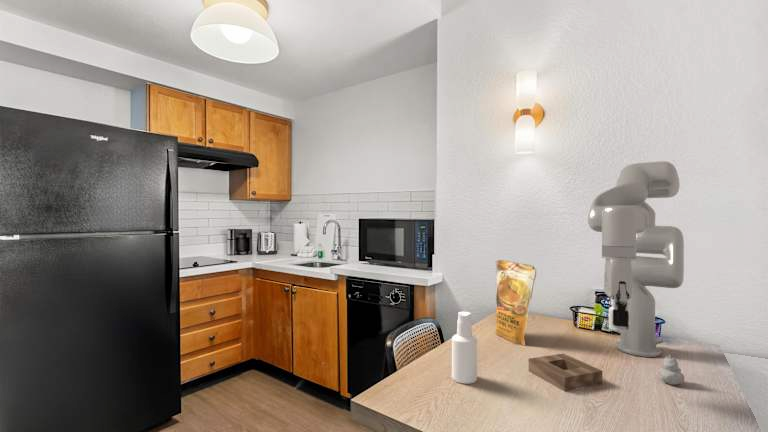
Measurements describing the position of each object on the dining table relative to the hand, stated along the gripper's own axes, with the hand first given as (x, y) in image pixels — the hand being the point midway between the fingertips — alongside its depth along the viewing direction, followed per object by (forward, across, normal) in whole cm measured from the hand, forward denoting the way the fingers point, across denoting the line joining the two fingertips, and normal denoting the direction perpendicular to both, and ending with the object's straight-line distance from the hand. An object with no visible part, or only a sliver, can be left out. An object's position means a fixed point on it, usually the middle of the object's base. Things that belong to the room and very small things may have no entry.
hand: (618, 322), depth 94 cm
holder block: (+17, -2, -13) cm, 21 cm away
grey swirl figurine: (+18, -10, +14) cm, 25 cm away
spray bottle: (+17, +11, -38) cm, 43 cm away
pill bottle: (+2, 0, 0) cm, 2 cm away
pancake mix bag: (+18, -30, -29) cm, 45 cm away
